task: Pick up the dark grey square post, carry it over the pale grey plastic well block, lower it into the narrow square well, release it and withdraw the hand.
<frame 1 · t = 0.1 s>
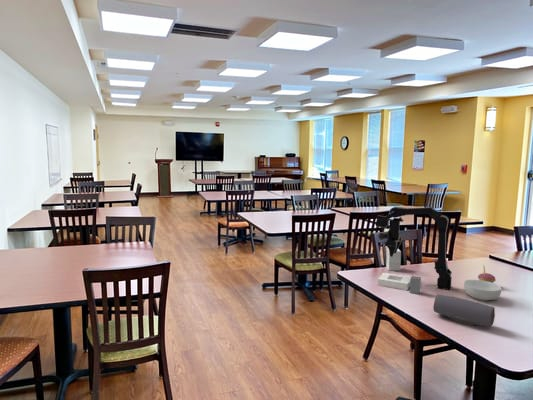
hand: (393, 254, 225), 15 cm above the table, tool pointing down, fingers open, 9 cm apart
cupcake: (486, 286, 218), on the table
cereal bowl: (481, 298, 199), on the table
well: (394, 283, 219), on the table
white rectangular block: (393, 269, 248), on the table
dark grey square post: (414, 292, 206), on the table
bluetooth speaker: (462, 321, 170), on the table
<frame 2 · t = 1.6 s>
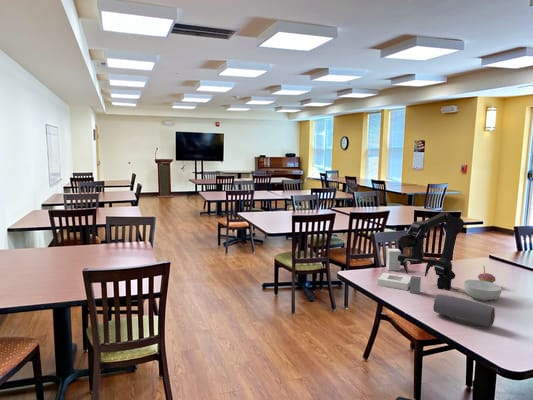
hand: (416, 275, 205), 9 cm above the table, tool pointing down, fingers open, 9 cm apart
nothing on the table moved.
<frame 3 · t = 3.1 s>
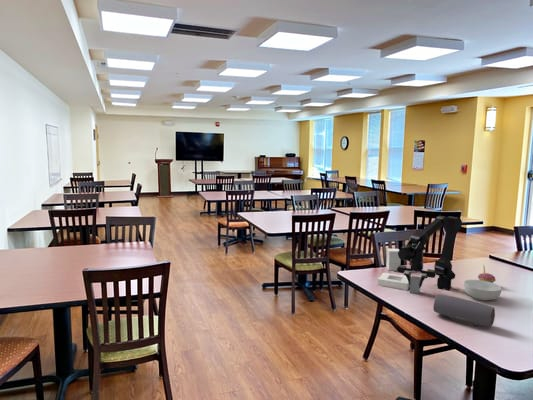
hand: (415, 286, 206), 3 cm above the table, tool pointing down, fingers closed on dark grey square post, 4 cm apart
dark grey square post: (414, 292, 206), on the table, touching gripper
everything else where it was.
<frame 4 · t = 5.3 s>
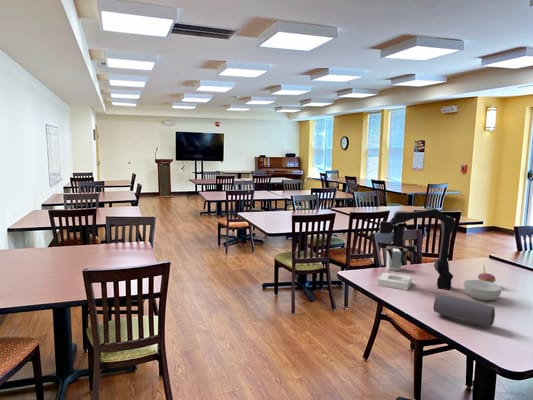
hand: (396, 261, 216), 13 cm above the table, tool pointing down, fingers closed on dark grey square post, 4 cm apart
dark grey square post: (396, 266, 217), point 10 cm above the table, touching gripper
everything else where it was.
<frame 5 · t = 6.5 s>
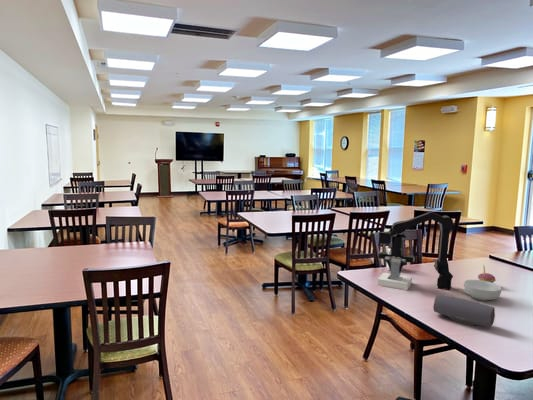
hand: (395, 272, 218), 7 cm above the table, tool pointing down, fingers closed on dark grey square post, 4 cm apart
dark grey square post: (395, 276, 218), point 4 cm above the table, touching gripper
everything else where it was.
when the fingers open (4 cm above the table, at t = 7.4 s): dark grey square post drops 1 cm, resting in well.
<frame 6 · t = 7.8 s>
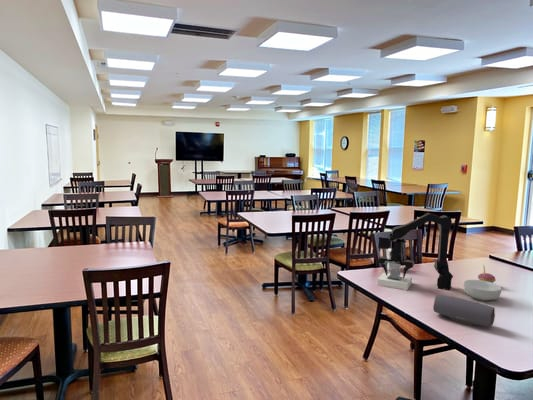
hand: (395, 276, 218), 4 cm above the table, tool pointing down, fingers open, 9 cm apart
dark grey square post: (394, 284, 219), resting in well
everything else where it was.
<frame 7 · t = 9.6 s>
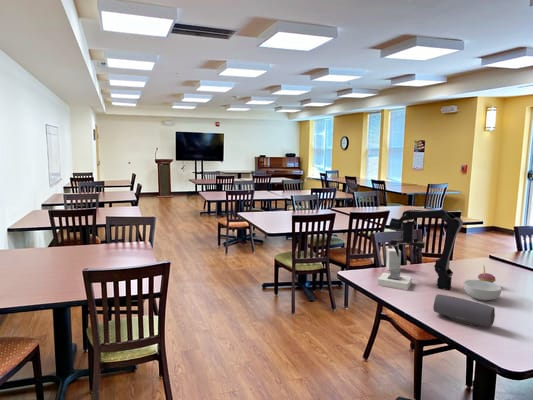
hand: (406, 257, 226), 13 cm above the table, tool pointing down, fingers open, 9 cm apart
nothing on the table moved.
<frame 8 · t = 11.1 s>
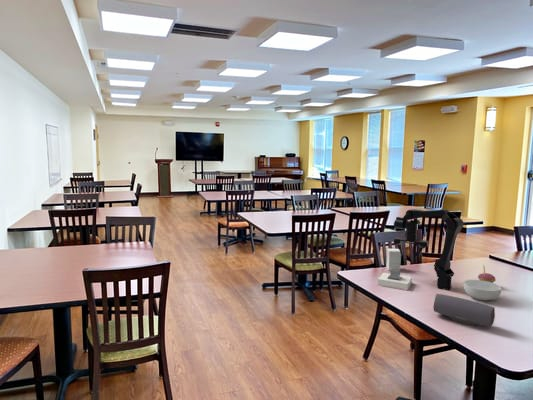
hand: (410, 256, 229), 13 cm above the table, tool pointing down, fingers open, 9 cm apart
nothing on the table moved.
at the end: dark grey square post 0.1 cm off-centre on the well, point 0.0 cm above the well's base; dark grey square post tilted 0°; the gripper is holding nothing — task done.
